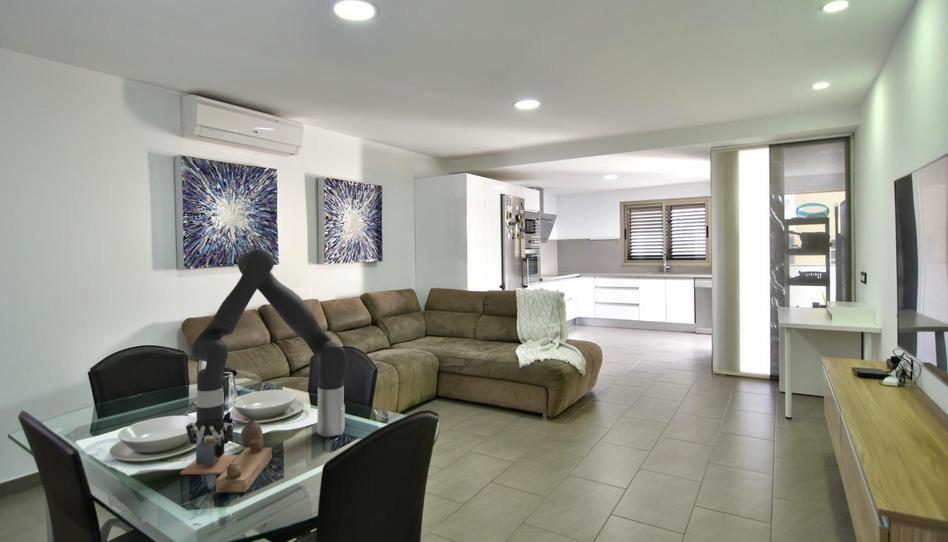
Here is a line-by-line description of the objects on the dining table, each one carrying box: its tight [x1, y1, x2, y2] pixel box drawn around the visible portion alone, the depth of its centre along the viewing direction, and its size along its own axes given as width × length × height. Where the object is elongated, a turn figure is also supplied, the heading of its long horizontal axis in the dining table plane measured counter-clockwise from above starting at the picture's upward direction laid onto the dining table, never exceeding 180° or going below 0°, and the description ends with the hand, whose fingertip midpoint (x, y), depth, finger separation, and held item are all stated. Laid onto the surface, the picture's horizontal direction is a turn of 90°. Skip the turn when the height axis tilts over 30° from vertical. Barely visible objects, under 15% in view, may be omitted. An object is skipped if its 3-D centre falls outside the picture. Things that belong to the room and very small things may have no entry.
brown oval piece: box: [239, 419, 263, 448], centre depth 172 cm, size 7×7×9 cm
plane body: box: [215, 438, 273, 493], centre depth 151 cm, size 8×22×6 cm, turn 4°
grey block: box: [195, 435, 225, 465], centre depth 156 cm, size 5×8×6 cm, turn 4°
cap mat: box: [180, 454, 239, 475], centre depth 157 cm, size 12×12×1 cm
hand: (210, 456), depth 157 cm, fingers closed on grey block, 5 cm apart
